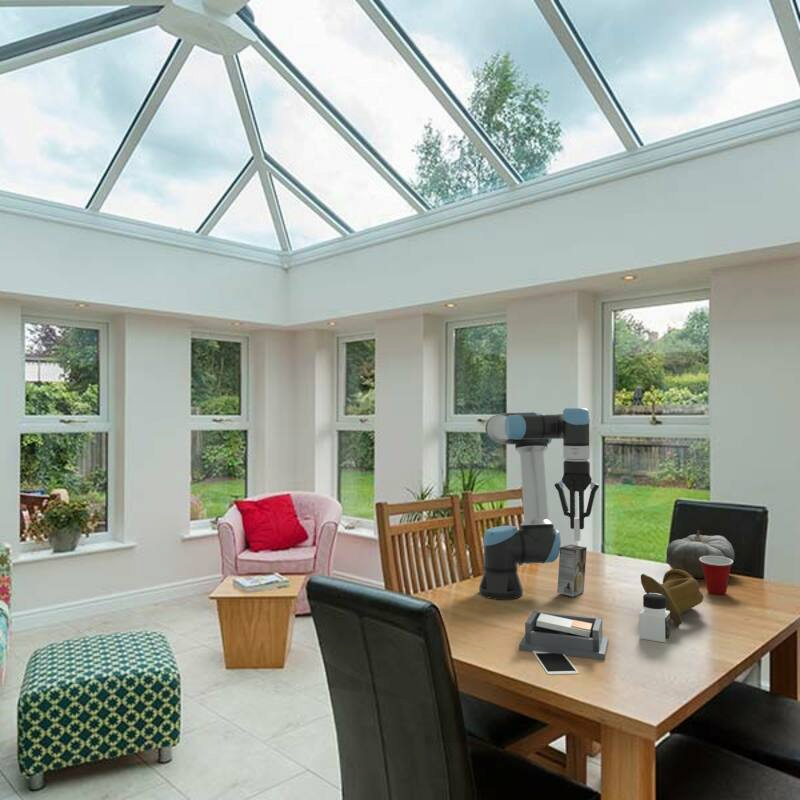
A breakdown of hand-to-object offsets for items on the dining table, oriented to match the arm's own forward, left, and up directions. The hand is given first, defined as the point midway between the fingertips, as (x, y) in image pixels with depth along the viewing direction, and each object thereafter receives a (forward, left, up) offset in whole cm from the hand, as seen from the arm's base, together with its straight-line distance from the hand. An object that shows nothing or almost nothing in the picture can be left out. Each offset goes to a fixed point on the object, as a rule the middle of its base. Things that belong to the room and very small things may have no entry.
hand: (577, 540), depth 197 cm
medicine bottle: (+21, -1, -26) cm, 34 cm away
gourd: (+37, +84, -26) cm, 96 cm away
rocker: (-2, -17, -21) cm, 27 cm away
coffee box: (-7, +38, -26) cm, 47 cm away
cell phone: (-3, -30, -27) cm, 40 cm away
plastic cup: (+41, +56, -26) cm, 74 cm away
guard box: (-2, -17, -26) cm, 31 cm away
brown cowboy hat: (+26, +22, -26) cm, 43 cm away
